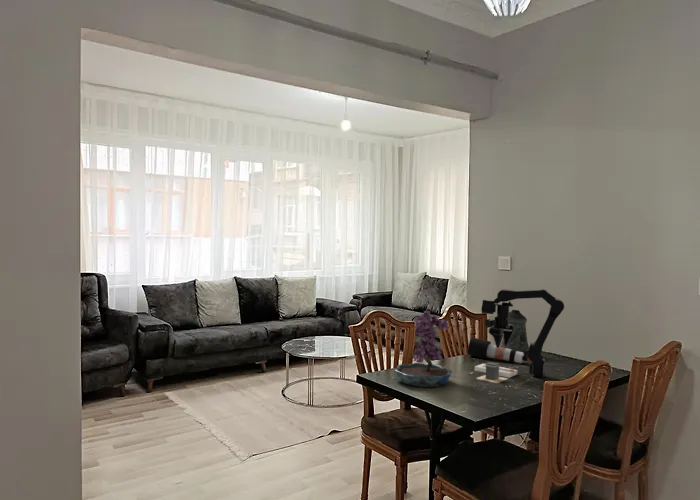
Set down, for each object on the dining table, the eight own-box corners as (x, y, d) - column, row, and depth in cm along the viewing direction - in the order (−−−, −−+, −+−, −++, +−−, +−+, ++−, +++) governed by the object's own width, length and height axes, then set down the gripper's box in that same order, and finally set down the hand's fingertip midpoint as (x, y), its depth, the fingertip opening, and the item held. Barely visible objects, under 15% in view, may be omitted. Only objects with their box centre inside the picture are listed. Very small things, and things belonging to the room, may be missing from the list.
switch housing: (517, 376, 258) (517, 368, 258) (509, 379, 251) (509, 371, 251) (483, 369, 270) (483, 362, 270) (474, 372, 263) (474, 365, 263)
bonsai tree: (433, 394, 225) (436, 317, 224) (380, 382, 241) (382, 310, 240) (469, 378, 252) (472, 309, 251) (419, 368, 269) (421, 303, 268)
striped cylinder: (530, 373, 282) (531, 359, 277) (467, 358, 297) (467, 344, 293) (534, 362, 289) (535, 347, 285) (473, 347, 305) (473, 333, 300)
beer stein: (519, 358, 298) (520, 313, 297) (489, 351, 313) (491, 309, 312) (535, 354, 308) (536, 311, 308) (506, 348, 323) (507, 307, 323)
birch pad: (508, 380, 249) (508, 378, 249) (497, 385, 241) (497, 383, 241) (486, 376, 257) (486, 374, 257) (475, 380, 248) (475, 378, 248)
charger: (498, 378, 249) (499, 363, 249) (494, 380, 246) (494, 365, 246) (489, 376, 252) (490, 361, 252) (485, 378, 249) (485, 363, 249)
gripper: (496, 311, 277) (495, 341, 277) (479, 314, 262) (478, 346, 263) (516, 313, 269) (515, 344, 270) (500, 317, 255) (499, 350, 256)
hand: (501, 346), depth 265 cm, fingers open, 9 cm apart
